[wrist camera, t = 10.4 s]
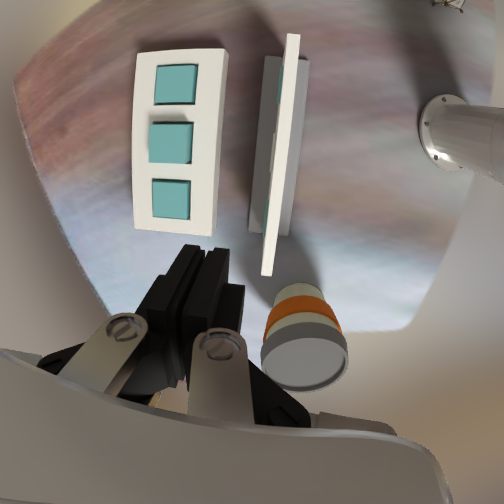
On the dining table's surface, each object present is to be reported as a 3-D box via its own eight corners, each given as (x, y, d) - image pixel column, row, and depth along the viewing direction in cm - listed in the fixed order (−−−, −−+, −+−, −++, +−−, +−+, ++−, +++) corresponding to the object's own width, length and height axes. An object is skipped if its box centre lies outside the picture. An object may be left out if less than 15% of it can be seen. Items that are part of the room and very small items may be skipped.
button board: (229, 54, 33) (224, 48, 29) (216, 225, 45) (211, 236, 41) (148, 57, 33) (137, 53, 29) (144, 219, 45) (134, 228, 41)
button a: (200, 69, 33) (194, 65, 30) (197, 102, 35) (191, 101, 32) (166, 70, 33) (157, 67, 30) (163, 103, 35) (154, 102, 32)
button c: (193, 178, 40) (187, 183, 37) (192, 211, 42) (186, 218, 39) (161, 176, 40) (152, 182, 37) (161, 208, 42) (153, 216, 39)
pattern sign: (308, 62, 33) (325, 39, 21) (287, 233, 44) (292, 278, 33) (265, 56, 33) (262, 31, 21) (248, 229, 44) (239, 272, 33)
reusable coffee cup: (258, 277, 48) (253, 340, 35) (334, 269, 47) (353, 330, 33) (267, 333, 54) (265, 396, 40) (333, 326, 52) (346, 389, 39)
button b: (193, 124, 35) (186, 124, 32) (191, 159, 38) (184, 163, 34) (159, 123, 35) (149, 124, 32) (157, 158, 38) (148, 162, 35)
